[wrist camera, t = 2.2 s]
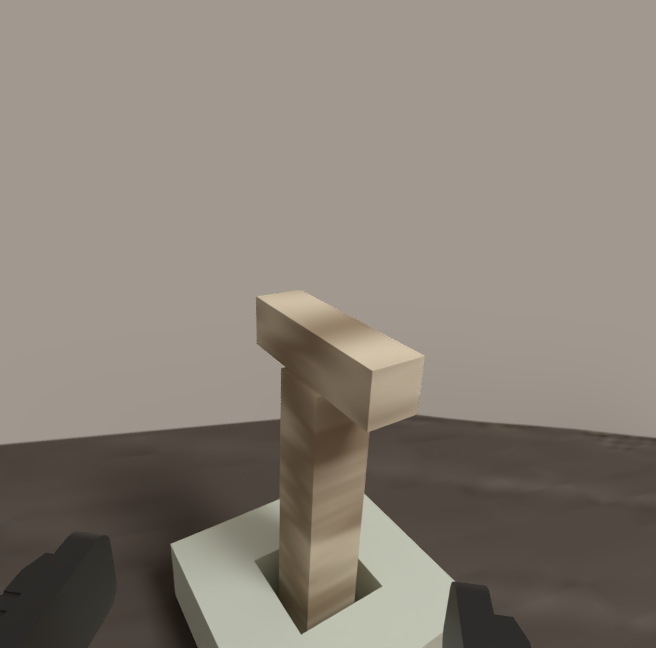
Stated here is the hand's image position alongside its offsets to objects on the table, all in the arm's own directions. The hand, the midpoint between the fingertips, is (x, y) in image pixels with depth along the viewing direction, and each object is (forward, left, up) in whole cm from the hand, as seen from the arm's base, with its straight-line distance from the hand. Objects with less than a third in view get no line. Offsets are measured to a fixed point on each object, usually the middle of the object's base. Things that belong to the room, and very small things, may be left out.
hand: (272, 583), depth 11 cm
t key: (-9, +7, -16) cm, 20 cm away
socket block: (-9, +7, -16) cm, 20 cm away
